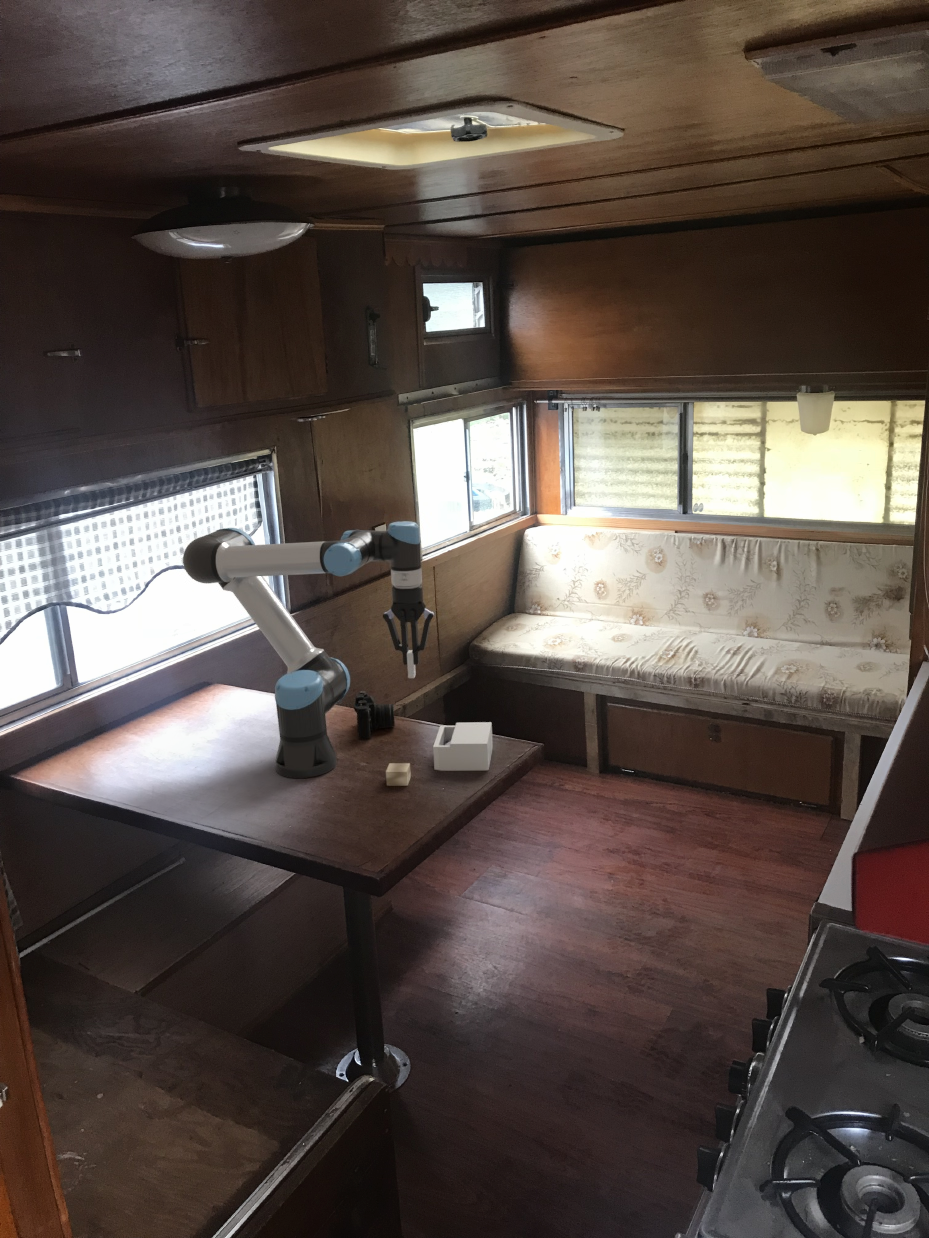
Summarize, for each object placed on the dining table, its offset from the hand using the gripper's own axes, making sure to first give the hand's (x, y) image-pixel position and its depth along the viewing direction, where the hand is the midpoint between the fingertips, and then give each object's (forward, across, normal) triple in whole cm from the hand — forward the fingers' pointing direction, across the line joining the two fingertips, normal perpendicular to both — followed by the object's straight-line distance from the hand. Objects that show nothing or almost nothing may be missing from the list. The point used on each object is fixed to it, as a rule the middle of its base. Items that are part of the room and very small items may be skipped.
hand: (411, 676), depth 248 cm
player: (+20, +14, -5) cm, 25 cm away
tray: (+20, +12, -5) cm, 24 cm away
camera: (+21, -14, +15) cm, 29 cm away
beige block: (+20, -1, -18) cm, 27 cm away
